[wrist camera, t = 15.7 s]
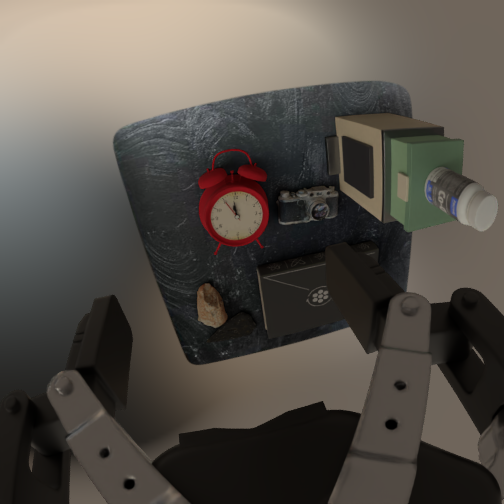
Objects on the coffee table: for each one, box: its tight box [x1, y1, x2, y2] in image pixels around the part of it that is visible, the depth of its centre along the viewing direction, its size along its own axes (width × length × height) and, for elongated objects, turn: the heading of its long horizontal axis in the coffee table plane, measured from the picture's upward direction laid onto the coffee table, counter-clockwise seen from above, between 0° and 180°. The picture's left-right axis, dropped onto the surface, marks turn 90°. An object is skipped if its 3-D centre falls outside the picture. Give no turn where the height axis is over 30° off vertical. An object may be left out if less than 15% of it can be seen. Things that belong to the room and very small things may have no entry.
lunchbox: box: [390, 135, 464, 232], centre depth 35 cm, size 11×9×4 cm
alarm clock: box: [198, 149, 269, 255], centre depth 46 cm, size 10×6×15 cm
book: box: [257, 241, 379, 339], centre depth 58 cm, size 22×15×3 cm
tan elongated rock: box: [197, 283, 227, 328], centre depth 56 cm, size 10×4×5 cm
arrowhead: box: [206, 312, 256, 343], centre depth 60 cm, size 6×1×10 cm
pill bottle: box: [424, 167, 498, 231], centre depth 29 cm, size 5×5×8 cm
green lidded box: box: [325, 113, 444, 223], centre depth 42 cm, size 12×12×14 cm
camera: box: [276, 186, 339, 225], centre depth 49 cm, size 5×10×4 cm, turn 94°
